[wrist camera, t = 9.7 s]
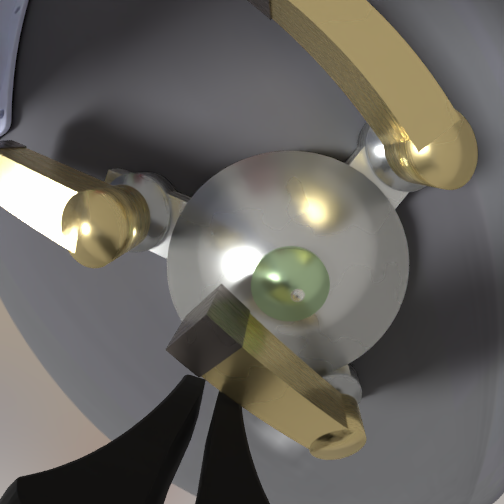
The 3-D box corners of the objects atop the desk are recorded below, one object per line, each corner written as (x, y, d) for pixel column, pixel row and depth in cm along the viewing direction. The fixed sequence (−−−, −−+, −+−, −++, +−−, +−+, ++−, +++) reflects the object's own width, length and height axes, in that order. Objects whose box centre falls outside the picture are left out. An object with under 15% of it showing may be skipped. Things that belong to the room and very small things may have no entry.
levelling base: (96, 141, 9) (74, 140, 8) (429, 104, 8) (448, 97, 6) (165, 407, 13) (156, 426, 11) (409, 394, 11) (418, 413, 10)
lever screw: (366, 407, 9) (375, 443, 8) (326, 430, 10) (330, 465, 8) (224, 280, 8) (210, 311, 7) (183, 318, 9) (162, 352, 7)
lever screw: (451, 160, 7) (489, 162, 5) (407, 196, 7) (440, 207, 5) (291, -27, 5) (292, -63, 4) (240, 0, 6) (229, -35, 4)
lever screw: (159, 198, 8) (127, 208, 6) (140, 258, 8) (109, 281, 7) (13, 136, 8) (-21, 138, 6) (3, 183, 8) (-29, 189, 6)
